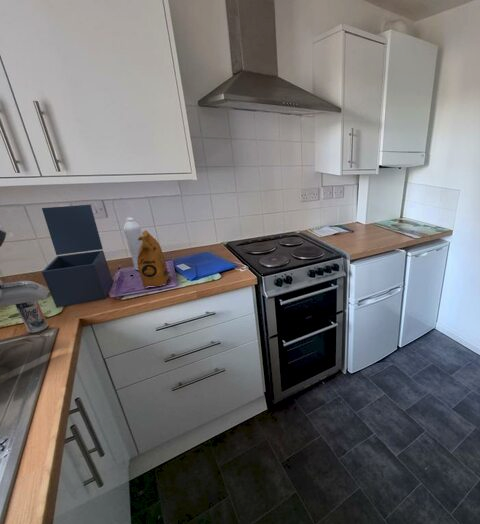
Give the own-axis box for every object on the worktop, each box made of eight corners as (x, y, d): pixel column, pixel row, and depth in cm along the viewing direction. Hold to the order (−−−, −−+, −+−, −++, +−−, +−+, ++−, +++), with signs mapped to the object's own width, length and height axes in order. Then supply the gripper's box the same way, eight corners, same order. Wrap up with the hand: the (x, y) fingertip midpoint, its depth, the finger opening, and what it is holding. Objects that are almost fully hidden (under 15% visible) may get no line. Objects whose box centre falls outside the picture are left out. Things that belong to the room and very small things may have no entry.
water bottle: (134, 268, 143) (119, 217, 134) (149, 264, 147) (136, 214, 138) (137, 273, 137) (121, 220, 128) (153, 270, 141) (139, 218, 132)
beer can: (32, 335, 94) (16, 301, 89) (25, 331, 96) (9, 298, 91) (51, 327, 98) (37, 294, 93) (44, 323, 100) (30, 291, 95)
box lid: (90, 204, 120) (93, 204, 124) (41, 208, 113) (46, 207, 117) (102, 249, 124) (104, 248, 128) (56, 255, 118) (60, 253, 121)
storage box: (105, 298, 116) (94, 264, 111) (56, 307, 109) (41, 271, 104) (113, 281, 130) (103, 250, 125) (69, 288, 124) (57, 256, 118)
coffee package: (139, 290, 122) (124, 239, 114) (146, 278, 133) (133, 230, 124) (167, 287, 125) (154, 236, 117) (172, 275, 136) (160, 228, 128)
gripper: (31, 271, 80) (58, 288, 92) (-82, 286, 71) (-37, 303, 83) (30, 293, 78) (58, 308, 90) (-87, 311, 69) (-39, 325, 81)
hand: (12, 306), depth 86 cm, fingers open, 8 cm apart
